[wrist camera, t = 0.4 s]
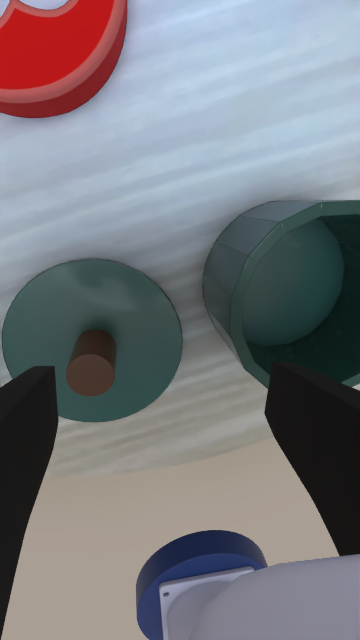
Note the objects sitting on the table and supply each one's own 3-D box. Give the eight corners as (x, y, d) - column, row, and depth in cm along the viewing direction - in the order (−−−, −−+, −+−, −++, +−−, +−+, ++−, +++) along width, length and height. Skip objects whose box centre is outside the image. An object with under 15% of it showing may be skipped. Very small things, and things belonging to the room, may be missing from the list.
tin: (338, 343, 24) (403, 387, 18) (203, 356, 23) (229, 408, 17) (356, 197, 21) (442, 196, 15) (201, 204, 19) (231, 205, 14)
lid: (182, 403, 24) (195, 447, 19) (25, 422, 22) (1, 474, 18) (176, 251, 20) (190, 265, 16) (-11, 263, 19) (-50, 281, 15)
